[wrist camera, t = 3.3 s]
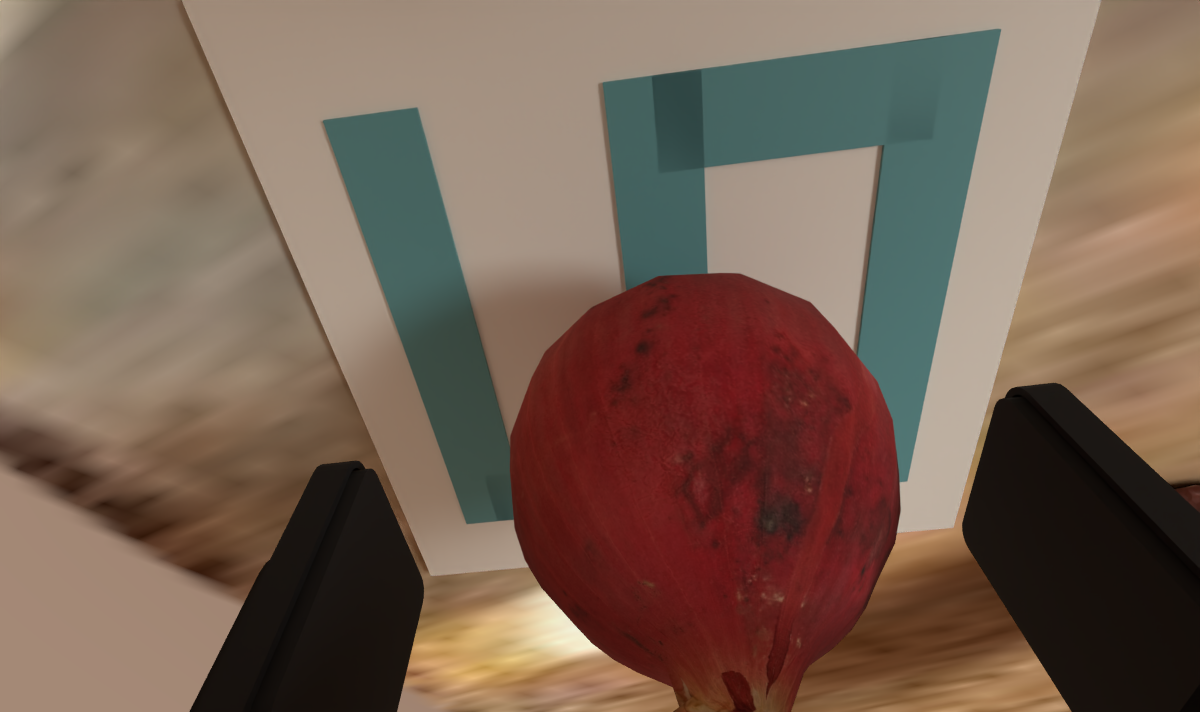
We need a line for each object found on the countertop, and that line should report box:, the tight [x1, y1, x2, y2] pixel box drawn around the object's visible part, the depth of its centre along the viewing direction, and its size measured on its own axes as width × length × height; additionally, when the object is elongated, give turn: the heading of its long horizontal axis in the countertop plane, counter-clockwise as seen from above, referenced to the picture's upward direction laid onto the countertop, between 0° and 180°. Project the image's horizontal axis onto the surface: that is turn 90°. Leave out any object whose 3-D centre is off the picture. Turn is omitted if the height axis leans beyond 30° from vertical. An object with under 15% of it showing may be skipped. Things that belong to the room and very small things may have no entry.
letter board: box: [182, 0, 1101, 576], centre depth 13 cm, size 14×14×1 cm
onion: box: [510, 273, 901, 712], centre depth 10 cm, size 6×6×8 cm
